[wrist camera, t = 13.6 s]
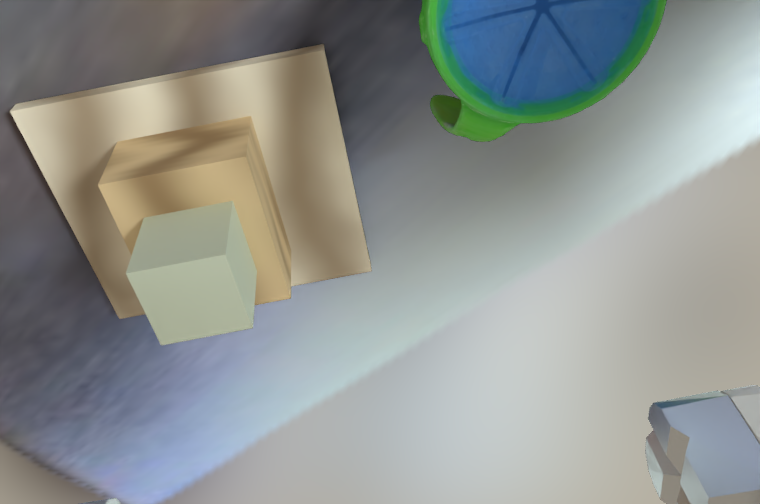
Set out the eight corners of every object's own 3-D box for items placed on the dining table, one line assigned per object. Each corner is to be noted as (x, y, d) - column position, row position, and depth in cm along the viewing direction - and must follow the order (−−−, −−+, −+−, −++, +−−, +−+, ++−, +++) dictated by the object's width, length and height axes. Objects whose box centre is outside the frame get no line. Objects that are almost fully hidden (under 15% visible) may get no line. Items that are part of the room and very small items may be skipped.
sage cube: (232, 200, 38) (225, 254, 34) (256, 271, 41) (252, 328, 37) (143, 217, 38) (125, 273, 34) (174, 286, 41) (161, 345, 37)
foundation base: (323, 43, 39) (327, 85, 34) (370, 262, 49) (378, 318, 44) (15, 103, 39) (-24, 153, 35) (122, 309, 49) (103, 370, 44)
